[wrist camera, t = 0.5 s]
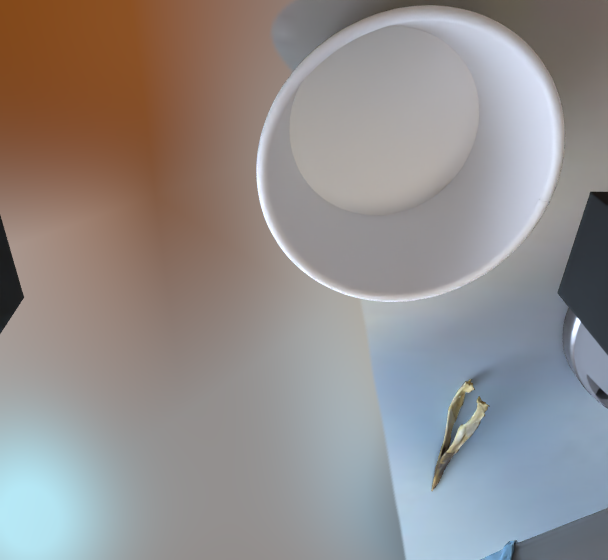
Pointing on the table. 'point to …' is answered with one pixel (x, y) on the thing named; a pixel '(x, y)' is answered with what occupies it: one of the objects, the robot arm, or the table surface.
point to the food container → (410, 153)
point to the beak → (463, 431)
